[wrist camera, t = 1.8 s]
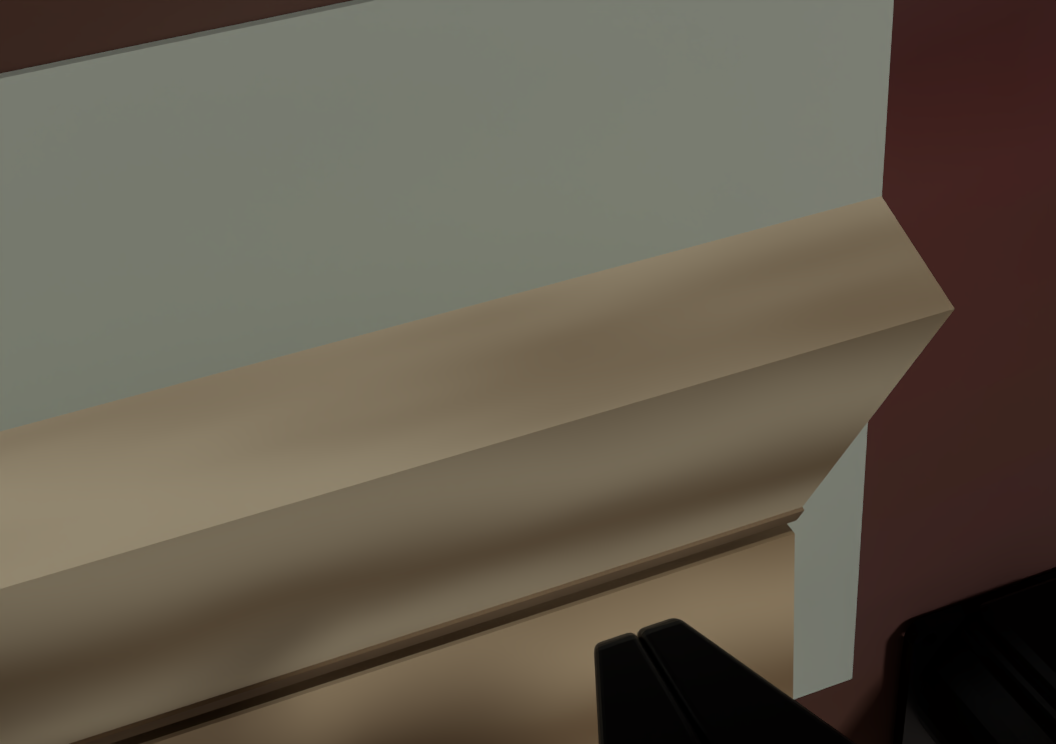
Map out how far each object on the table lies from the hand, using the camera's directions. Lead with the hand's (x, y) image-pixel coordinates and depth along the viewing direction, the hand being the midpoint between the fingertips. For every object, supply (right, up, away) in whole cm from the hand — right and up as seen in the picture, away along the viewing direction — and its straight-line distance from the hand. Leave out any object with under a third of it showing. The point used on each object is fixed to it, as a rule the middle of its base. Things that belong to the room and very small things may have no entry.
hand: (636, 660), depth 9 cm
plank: (-7, 0, +6) cm, 10 cm away
